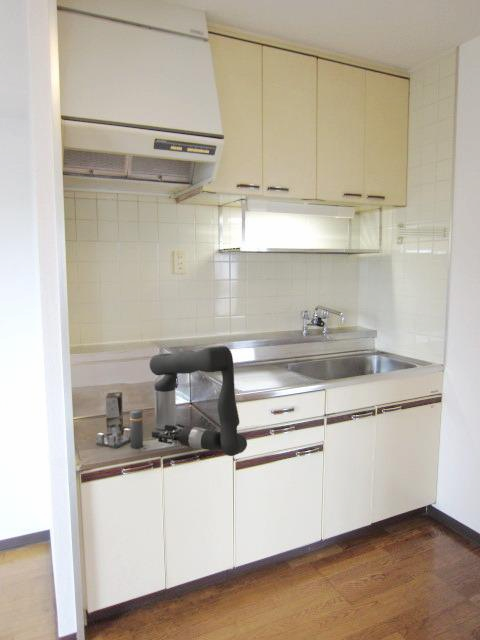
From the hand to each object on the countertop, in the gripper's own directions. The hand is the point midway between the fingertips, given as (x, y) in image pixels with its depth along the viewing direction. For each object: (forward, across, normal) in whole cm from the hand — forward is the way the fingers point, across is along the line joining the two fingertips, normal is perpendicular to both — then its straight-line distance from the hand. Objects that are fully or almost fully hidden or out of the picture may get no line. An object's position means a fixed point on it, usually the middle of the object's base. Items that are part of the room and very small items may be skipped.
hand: (158, 430), depth 177 cm
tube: (+11, 0, +8) cm, 13 cm away
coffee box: (+31, -10, +8) cm, 33 cm away
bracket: (+22, 0, +8) cm, 23 cm away
